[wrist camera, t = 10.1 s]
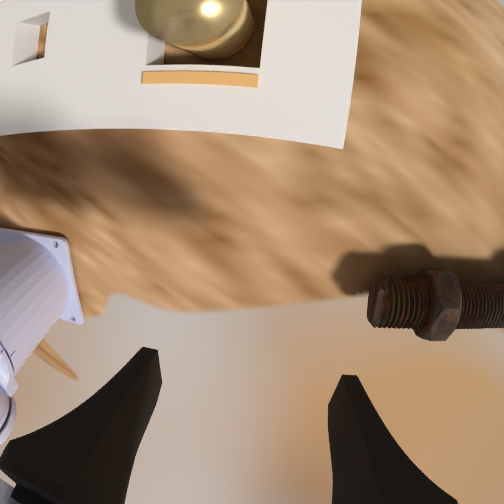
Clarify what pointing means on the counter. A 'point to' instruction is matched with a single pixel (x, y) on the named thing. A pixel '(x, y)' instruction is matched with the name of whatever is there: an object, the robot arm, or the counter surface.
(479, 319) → the bolt
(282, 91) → the fitting plate
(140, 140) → the counter surface
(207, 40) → the brass cylinder
